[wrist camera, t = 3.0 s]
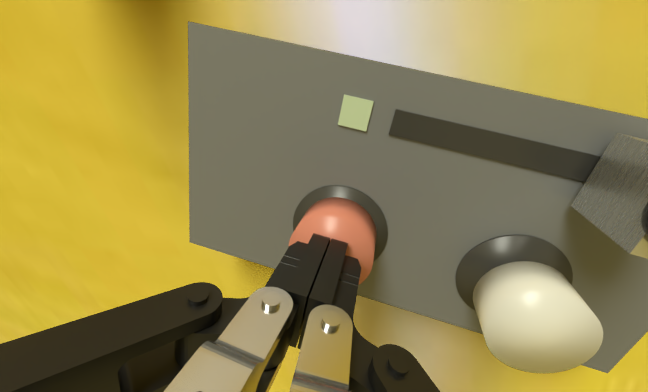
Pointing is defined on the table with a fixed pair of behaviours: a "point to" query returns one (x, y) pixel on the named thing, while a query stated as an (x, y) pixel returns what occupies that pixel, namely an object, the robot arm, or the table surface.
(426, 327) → the table surface
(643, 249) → the lever
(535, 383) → the table surface
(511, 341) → the white button
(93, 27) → the table surface
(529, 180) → the panel
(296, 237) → the red button
